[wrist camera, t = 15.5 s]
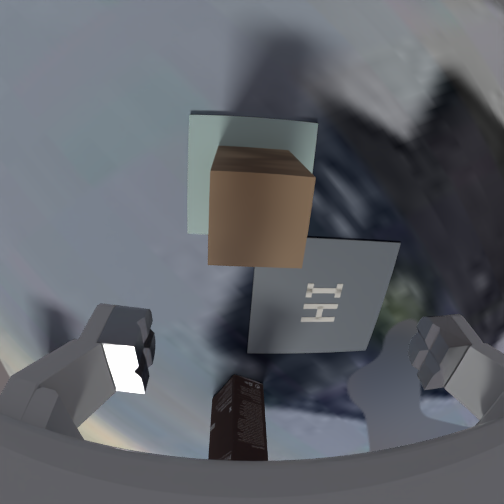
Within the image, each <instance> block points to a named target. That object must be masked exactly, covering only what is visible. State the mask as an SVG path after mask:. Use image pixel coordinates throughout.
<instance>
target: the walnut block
mask: <svg viewBox="0 0 504 504" xmlns="http://www.w3.org/2000/svg"><path fill="white" fill-rule="evenodd" d="M315 178H316V177H315V176H314V175H313V174H312V173H311V172H310V171H309V170H308V169H307V168H306V167H305V166H304V165H303V164H302V163H301V162H300V161H299V160H298V159H297V158H296V157H295V156H294V155H293V154H292V153H291V152H290V151H289V150H281V149H268V148H254V147H237V146H218V148H217V151H216V154H215V157H214V161H213V164H212V167H211V170H210V192H209V229H208V265H222V266H247V267H273V268H302V265H303V259H304V253H305V246H306V240H307V234H308V227H309V221H310V214H311V207H312V200H313V193H314V186H315Z"/></svg>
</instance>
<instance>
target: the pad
mask: <svg viewBox="0 0 504 504" xmlns="http://www.w3.org/2000/svg"><path fill="white" fill-rule="evenodd" d="M317 129H318V123H311V122H302V121H293V120H283V119H271V118H258V117H243V116H222V115H189V141H188V202H187V213H188V234H208V229H209V192H210V170H211V167H212V164H213V161H214V157H215V154H216V151H217V148H218V146H237V147H254V148H268V149H281V150H289V151H290V152H291V153H292V154H293V155H294V156H295V157H296V158H297V159H298V160H299V161H300V162H301V163H302V164H303V165H304V166H305V167H306V168H307V169H308V170H309V171H310V172H311V173H312V172H313V164H314V155H315V147H316V138H317Z"/></svg>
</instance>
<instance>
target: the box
mask: <svg viewBox="0 0 504 504" xmlns="http://www.w3.org/2000/svg"><path fill="white" fill-rule="evenodd" d="M208 459H209V460H229V461H268V453H267V439H266V422H265V407H264V392H263V384H261V383H259V382H258V381H254V380H251V379H248V378H245V377H242V376H239V375H235V374H234V375H233V376H232V377H231V378H230V379H229V381H228V382H227V383H226V384H225V385H224V387H223V388H222V389H221V390H220V391H219V392H218V393H217V394H216V395H215V396H214V397H213V399H212V412H211V426H210V443H209V458H208Z"/></svg>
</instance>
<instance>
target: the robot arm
mask: <svg viewBox="0 0 504 504" xmlns="http://www.w3.org/2000/svg"><path fill="white" fill-rule="evenodd" d="M152 321H153V320H152V314H151V311H150V309H144V308H136V307H127V306H120V305H110V304H102V303H101V304H99V305H97V307H96V309H95V310H94V312H93V314H92V316H91V317H90V319H89V321H88V323H87V325H86V326H85V328H84V330H83V332H82V334H81V336H80V337H79V339H78V340H77V339H73V340H71V341H70V342H68V343H66V344H64V345H63V346H61V347H59V348H58V349H56V350H54V351H53V352H51V353H49V354H47V355H46V356H44V357H42V358H41V359H39V360H37V361H36V362H34V363H32V364H31V365H29V366H27V367H26V368H24V369H22V370H21V371H19V372H17V373H16V374H14V375H12V376H11V377H10V379H9V381H8V383H7V384H6V386H5V388H4V390H3V391H2V393H1V395H0V504H504V354H503V353H502V352H500V351H498V350H497V349H495V348H493V347H492V346H490V345H488V344H487V343H486V344H483V342H482V341H481V340H480V338H479V337H478V336H477V334H476V333H475V332H474V330H473V329H472V328H471V326H470V325H469V324H468V322H467V321H466V320H465V319H464V317H463V316H461V315H459V314H453V315H447V316H428V317H423V318H422V319H421V320H420V321H419V323H418V325H417V329H418V333H416V335H414V336H413V337H412V339H411V341H410V344H409V348H408V356H409V360H410V362H411V364H412V366H414V367H415V368H417V369H418V373H417V376H418V378H419V380H420V382H421V384H422V386H423V388H424V390H428V389H435V388H442V387H445V389H446V390H447V391H448V392H449V393H450V394H451V395H452V396H454V397H455V398H456V399H457V400H458V401H459V402H460V403H461V404H462V405H464V406H465V407H466V408H467V409H468V410H469V411H470V412H471V413H472V414H473V415H475V416H476V417H477V418H478V419H479V420H480V421H479V422H478V423H477V424H476V425H475V426H474V427H471V428H468V429H465V430H462V431H459V432H455V433H452V434H449V435H445V436H442V437H438V438H434V439H430V440H426V441H422V442H418V443H414V444H409V445H405V446H400V447H395V448H390V449H384V450H379V451H373V452H367V453H360V454H353V455H345V456H337V457H327V458H316V459H303V460H283V461H229V460H209V459H196V458H185V457H175V456H167V455H159V454H152V453H145V452H139V451H133V450H128V449H122V448H117V447H112V446H107V445H103V444H98V443H94V442H90V441H86V440H84V439H83V437H82V436H81V434H80V432H79V431H78V429H77V428H78V427H79V426H80V425H81V424H82V423H83V422H84V421H85V420H86V419H87V418H88V417H90V416H91V415H92V414H93V413H94V412H95V411H96V410H97V409H98V408H99V407H100V406H101V405H102V404H104V403H105V402H106V401H107V400H108V399H109V398H110V397H111V396H112V395H113V394H114V393H115V392H116V390H119V391H126V392H134V393H143V394H145V391H146V387H147V383H148V379H149V371H148V367H150V366H151V365H152V364H153V360H154V355H155V335H154V332H153V331H152V330H151V329H150V328H151V325H152Z"/></svg>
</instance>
